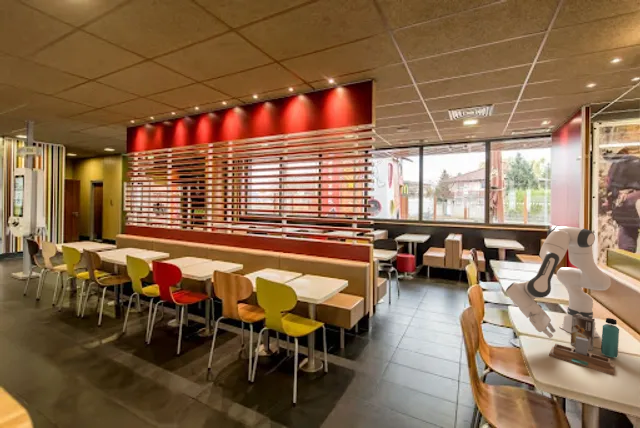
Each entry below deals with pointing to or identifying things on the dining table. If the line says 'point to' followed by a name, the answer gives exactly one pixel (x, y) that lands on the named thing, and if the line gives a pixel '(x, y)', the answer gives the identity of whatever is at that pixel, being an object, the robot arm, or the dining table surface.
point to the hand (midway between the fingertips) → (553, 334)
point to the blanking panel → (581, 346)
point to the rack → (582, 359)
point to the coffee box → (582, 329)
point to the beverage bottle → (610, 338)
